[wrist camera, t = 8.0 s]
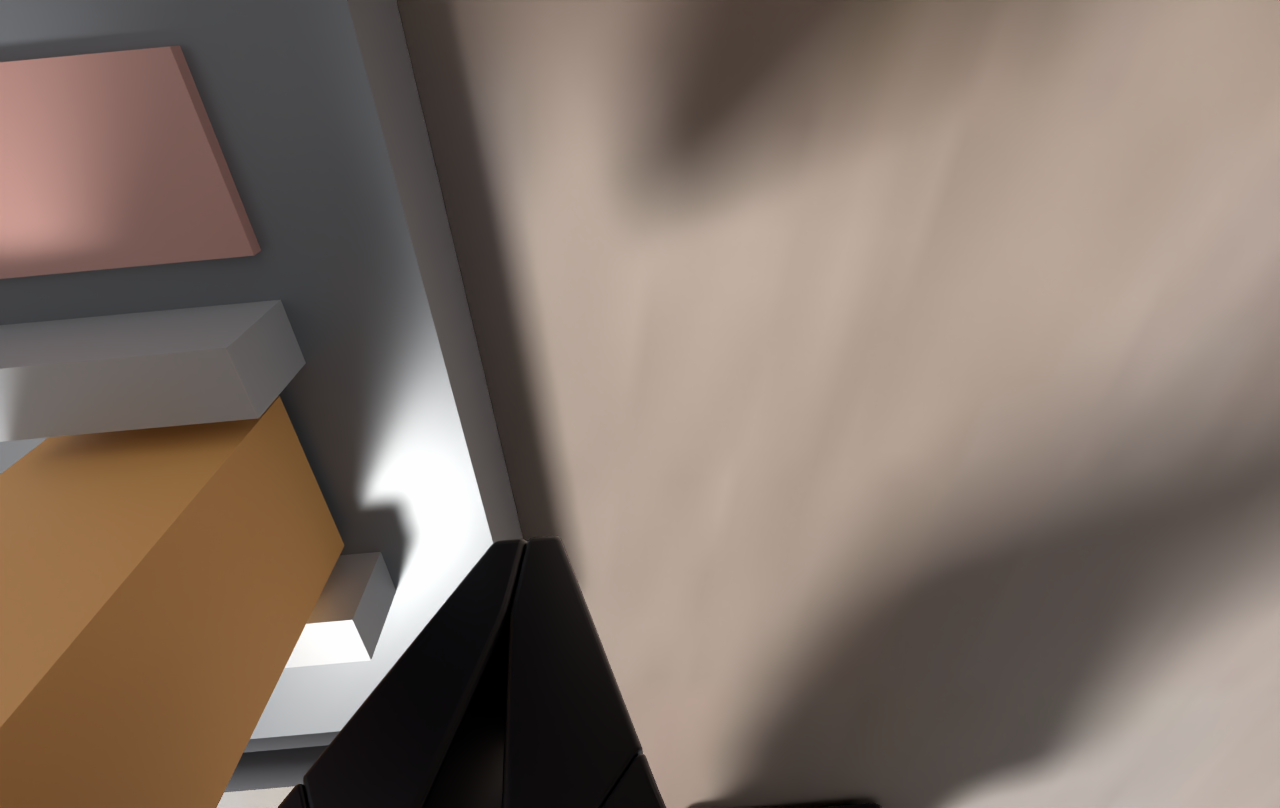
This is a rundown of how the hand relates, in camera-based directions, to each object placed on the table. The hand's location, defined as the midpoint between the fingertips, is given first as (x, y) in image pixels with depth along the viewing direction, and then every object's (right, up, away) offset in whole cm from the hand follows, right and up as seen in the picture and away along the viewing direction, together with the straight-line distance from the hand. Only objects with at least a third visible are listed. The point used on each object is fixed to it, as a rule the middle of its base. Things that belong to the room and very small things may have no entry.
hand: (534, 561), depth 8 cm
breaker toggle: (-5, +1, +2) cm, 6 cm away
